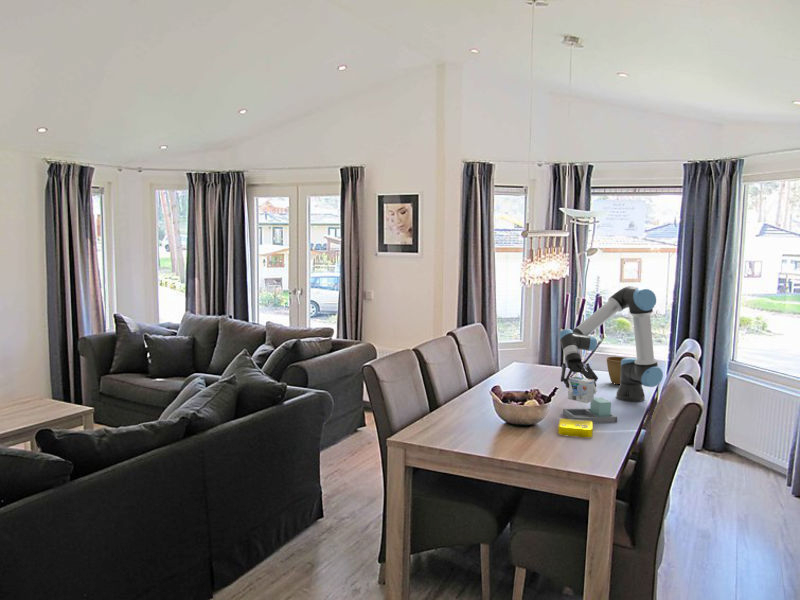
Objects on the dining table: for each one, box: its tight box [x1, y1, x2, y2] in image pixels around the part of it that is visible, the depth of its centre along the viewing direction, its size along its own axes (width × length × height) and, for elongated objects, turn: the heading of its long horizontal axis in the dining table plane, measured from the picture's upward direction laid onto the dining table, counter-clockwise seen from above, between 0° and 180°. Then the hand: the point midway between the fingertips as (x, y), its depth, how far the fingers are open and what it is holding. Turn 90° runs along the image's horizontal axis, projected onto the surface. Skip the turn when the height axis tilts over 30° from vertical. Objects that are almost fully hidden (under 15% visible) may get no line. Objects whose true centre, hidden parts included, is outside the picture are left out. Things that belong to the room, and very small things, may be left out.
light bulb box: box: [567, 376, 595, 404], centre depth 300 cm, size 11×7×11 cm, turn 45°
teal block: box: [589, 396, 612, 417], centre depth 302 cm, size 6×10×9 cm, turn 6°
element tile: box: [557, 418, 594, 438], centre depth 282 cm, size 15×15×5 cm
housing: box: [562, 408, 618, 424], centre depth 302 cm, size 21×16×3 cm
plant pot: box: [606, 356, 626, 385], centre depth 381 cm, size 15×15×16 cm
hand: (583, 393), depth 298 cm, fingers closed on light bulb box, 11 cm apart
